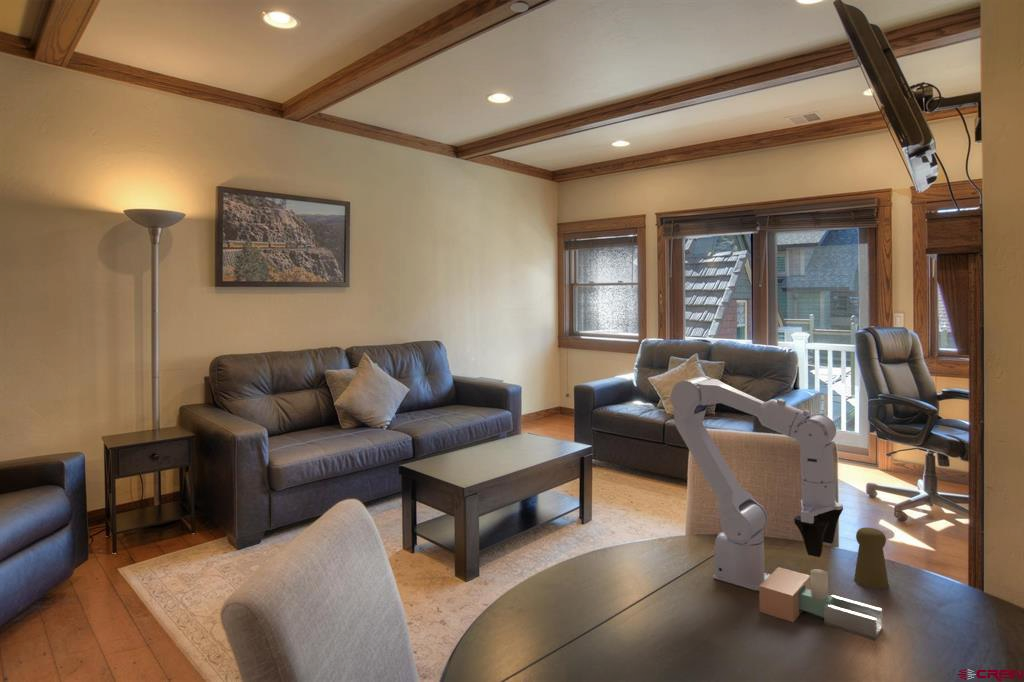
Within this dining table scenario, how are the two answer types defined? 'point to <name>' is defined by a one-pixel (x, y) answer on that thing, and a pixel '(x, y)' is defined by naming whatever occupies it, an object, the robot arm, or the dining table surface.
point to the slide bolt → (816, 594)
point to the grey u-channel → (854, 617)
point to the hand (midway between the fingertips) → (820, 548)
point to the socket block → (783, 593)
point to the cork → (871, 559)
